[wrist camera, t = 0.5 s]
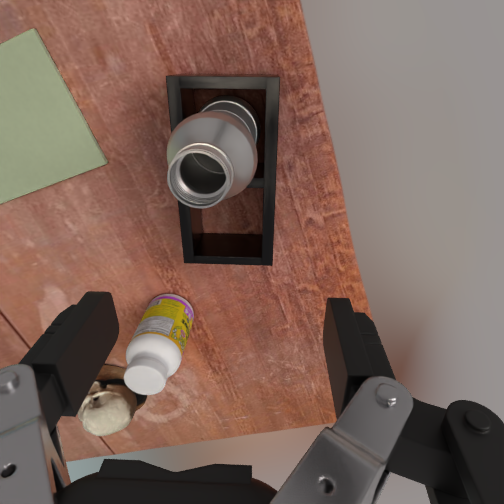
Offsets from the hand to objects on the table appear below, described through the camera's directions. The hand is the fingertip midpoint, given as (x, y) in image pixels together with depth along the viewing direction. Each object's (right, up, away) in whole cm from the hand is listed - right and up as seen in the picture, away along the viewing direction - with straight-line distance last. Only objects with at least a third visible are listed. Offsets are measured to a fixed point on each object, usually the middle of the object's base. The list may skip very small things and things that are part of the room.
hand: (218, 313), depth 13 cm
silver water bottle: (-1, +16, +25) cm, 30 cm away
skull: (-22, -21, +46) cm, 55 cm away
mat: (-28, +15, +27) cm, 42 cm away
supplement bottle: (-10, -6, +38) cm, 40 cm away
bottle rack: (-1, +12, +27) cm, 30 cm away
